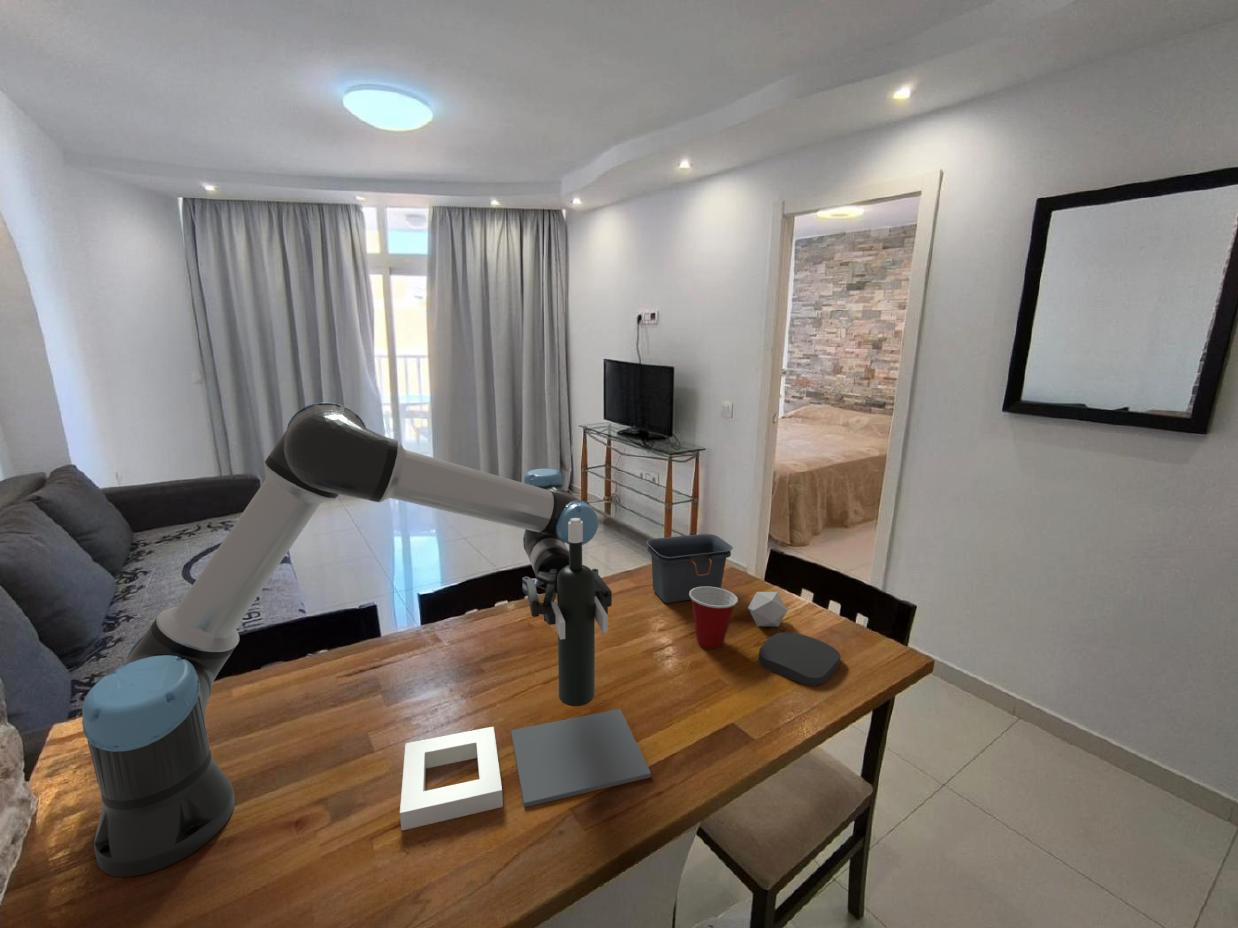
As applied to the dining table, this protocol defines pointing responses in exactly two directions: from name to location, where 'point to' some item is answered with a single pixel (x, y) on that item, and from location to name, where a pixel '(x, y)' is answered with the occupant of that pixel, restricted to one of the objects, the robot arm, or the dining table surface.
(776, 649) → the media streaming box
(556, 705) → the dining table surface
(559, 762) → the coaster mat
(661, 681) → the dining table surface
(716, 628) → the plastic cup
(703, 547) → the storage bin
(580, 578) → the wine bottle
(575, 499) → the robot arm
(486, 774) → the frame
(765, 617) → the die
